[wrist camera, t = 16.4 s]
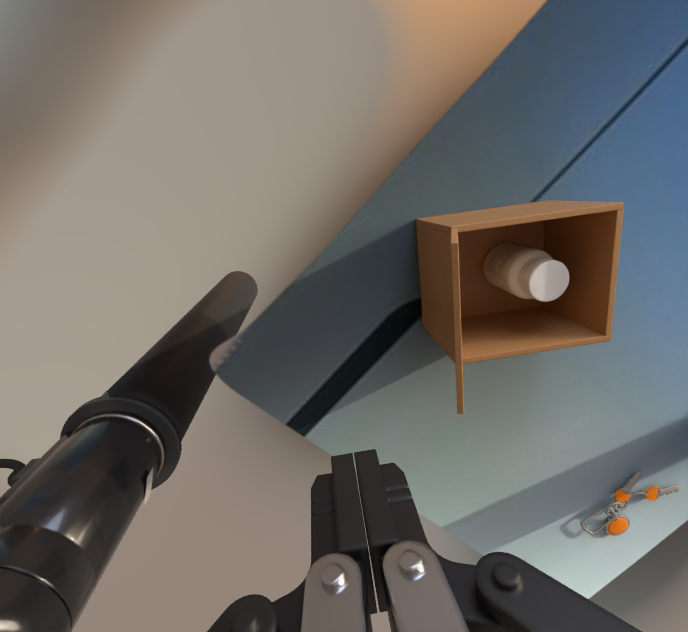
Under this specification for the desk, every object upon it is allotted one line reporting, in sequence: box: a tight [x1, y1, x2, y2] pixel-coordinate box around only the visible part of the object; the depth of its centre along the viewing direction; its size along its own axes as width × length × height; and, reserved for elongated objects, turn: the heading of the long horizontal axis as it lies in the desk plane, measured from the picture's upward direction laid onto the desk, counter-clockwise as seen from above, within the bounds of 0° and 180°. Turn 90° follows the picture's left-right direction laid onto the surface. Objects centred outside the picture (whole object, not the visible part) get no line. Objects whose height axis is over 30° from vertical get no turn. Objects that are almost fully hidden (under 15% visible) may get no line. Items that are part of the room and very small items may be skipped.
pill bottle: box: [483, 243, 569, 302], centre depth 34 cm, size 4×4×8 cm
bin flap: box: [451, 228, 464, 414], centre depth 25 cm, size 6×11×1 cm
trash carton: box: [416, 201, 624, 364], centre depth 34 cm, size 13×11×10 cm
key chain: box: [580, 472, 680, 536], centre depth 49 cm, size 13×7×1 cm, turn 134°
